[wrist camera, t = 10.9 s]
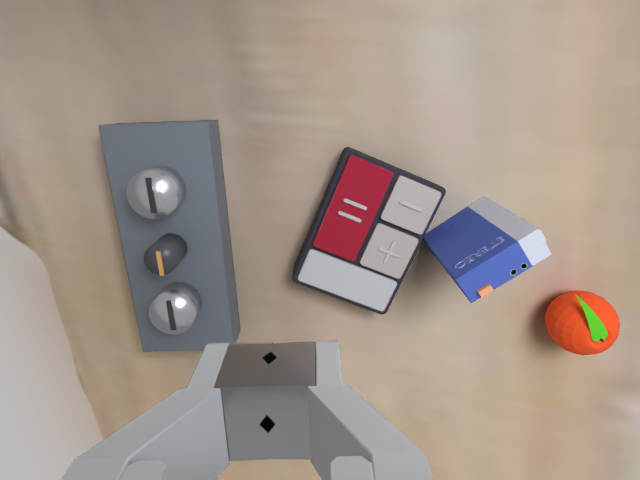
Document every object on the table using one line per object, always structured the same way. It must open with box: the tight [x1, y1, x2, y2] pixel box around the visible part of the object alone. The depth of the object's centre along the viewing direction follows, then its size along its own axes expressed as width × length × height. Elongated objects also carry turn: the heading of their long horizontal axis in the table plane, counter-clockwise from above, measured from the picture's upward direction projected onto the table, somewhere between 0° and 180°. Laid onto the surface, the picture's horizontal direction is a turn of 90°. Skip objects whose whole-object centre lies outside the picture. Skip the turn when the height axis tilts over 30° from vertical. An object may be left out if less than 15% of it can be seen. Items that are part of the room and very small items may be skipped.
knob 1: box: [126, 166, 186, 219], centre depth 40 cm, size 4×4×7 cm
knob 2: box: [149, 282, 202, 335], centre depth 44 cm, size 4×4×7 cm
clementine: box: [545, 291, 620, 355], centre depth 45 cm, size 8×7×7 cm
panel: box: [99, 120, 240, 352], centre depth 43 cm, size 24×10×4 cm, turn 2°
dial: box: [144, 233, 188, 276], centre depth 40 cm, size 3×3×4 cm
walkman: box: [423, 196, 551, 303], centre depth 39 cm, size 8×3×12 cm, turn 126°
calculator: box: [293, 147, 446, 314], centre depth 44 cm, size 11×4×15 cm
